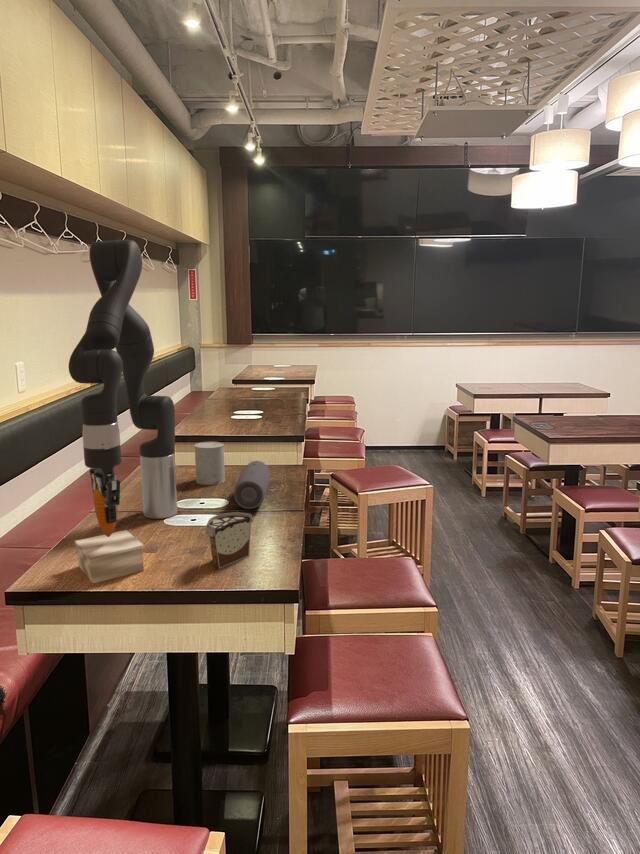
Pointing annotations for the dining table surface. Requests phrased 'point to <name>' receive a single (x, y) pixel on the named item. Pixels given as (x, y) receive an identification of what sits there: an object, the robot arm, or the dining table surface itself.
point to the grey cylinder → (209, 463)
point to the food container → (229, 537)
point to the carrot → (102, 512)
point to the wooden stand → (110, 556)
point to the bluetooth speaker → (252, 485)
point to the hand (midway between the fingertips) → (107, 518)
